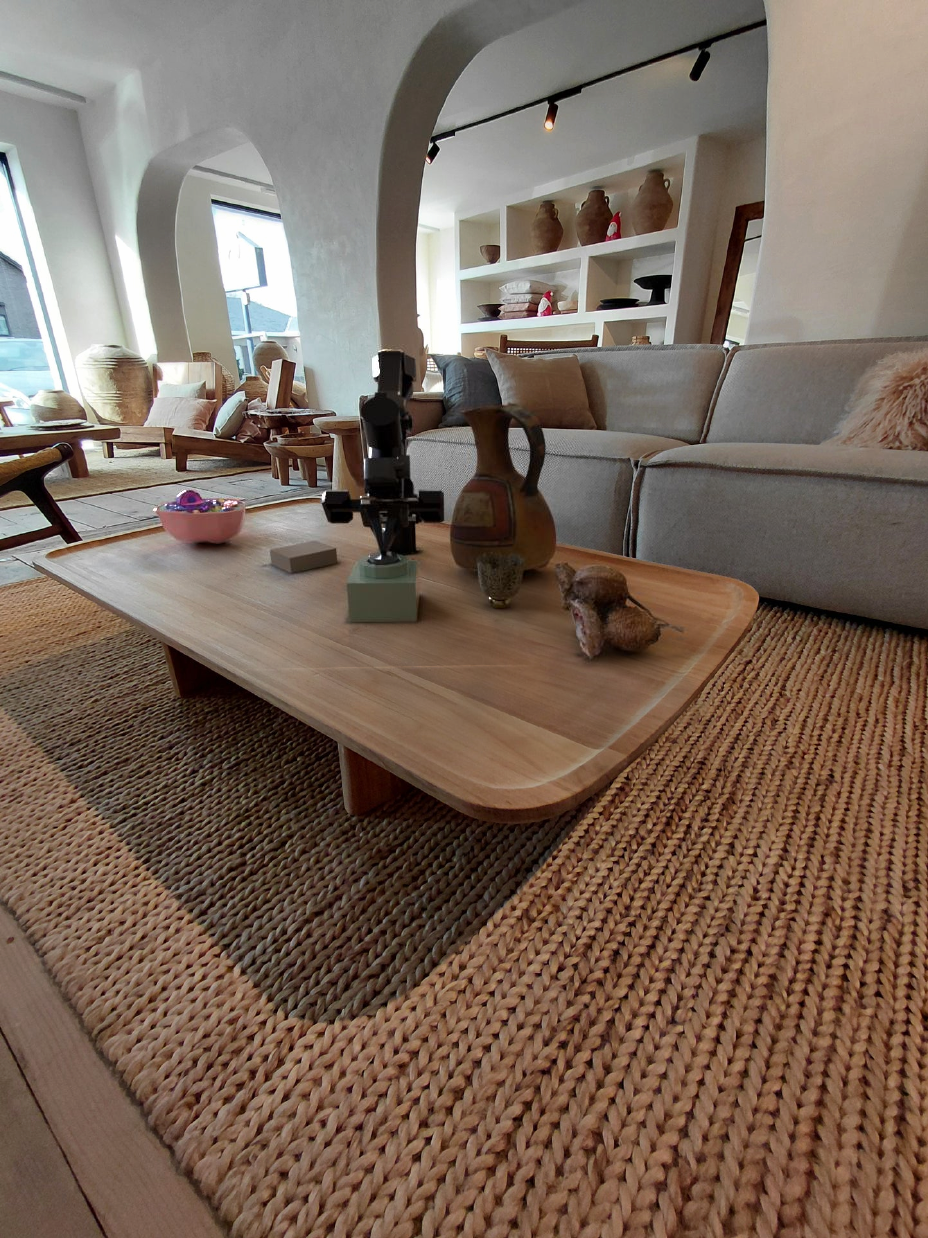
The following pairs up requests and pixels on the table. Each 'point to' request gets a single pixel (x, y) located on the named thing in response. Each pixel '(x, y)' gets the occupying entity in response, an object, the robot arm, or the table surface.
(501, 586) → the cup
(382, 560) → the dark grey metal cylinder
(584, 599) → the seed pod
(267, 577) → the table surface
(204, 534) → the cell model
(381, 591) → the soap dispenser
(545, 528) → the ceramic pitcher
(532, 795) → the table surface
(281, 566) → the brown rectangular block
